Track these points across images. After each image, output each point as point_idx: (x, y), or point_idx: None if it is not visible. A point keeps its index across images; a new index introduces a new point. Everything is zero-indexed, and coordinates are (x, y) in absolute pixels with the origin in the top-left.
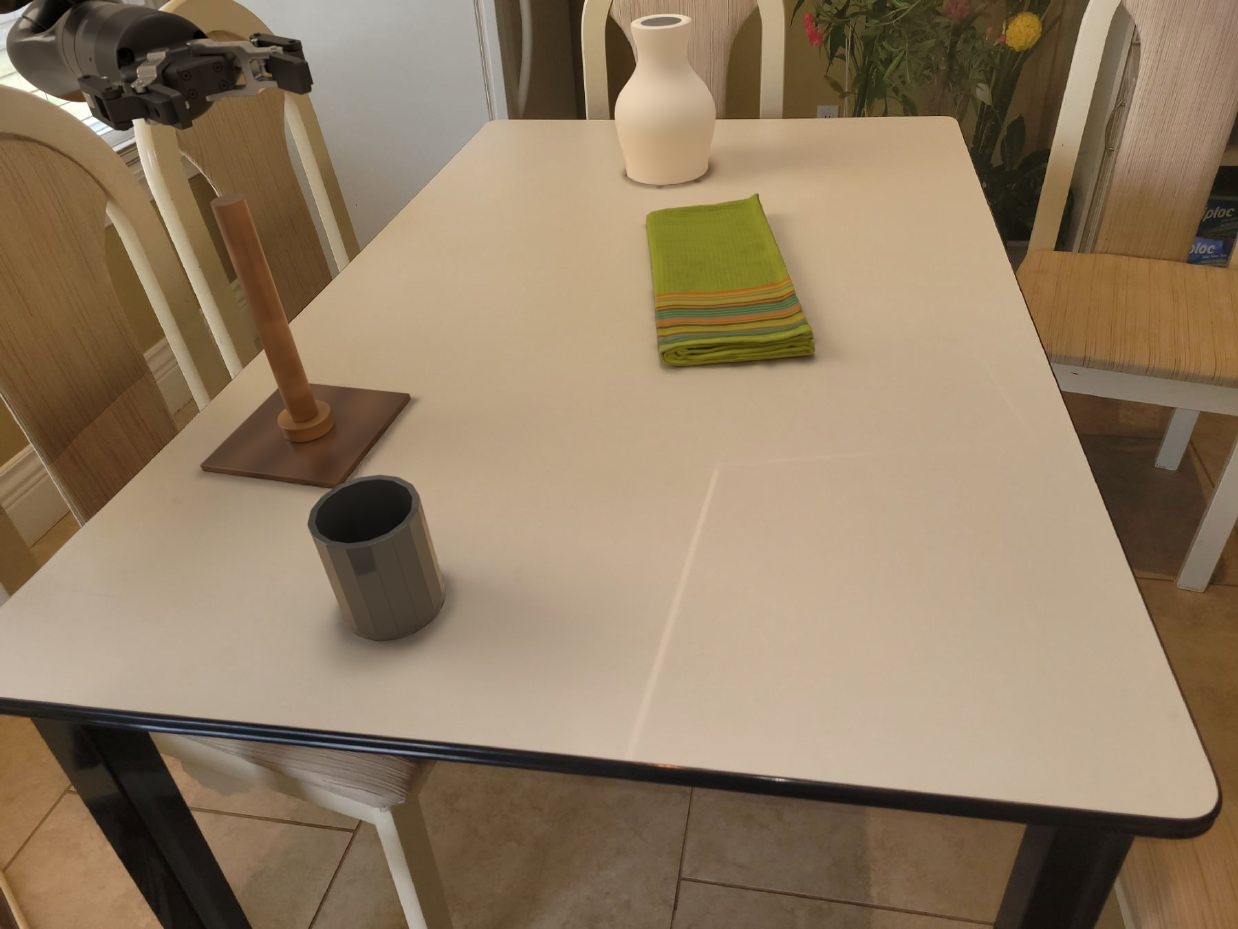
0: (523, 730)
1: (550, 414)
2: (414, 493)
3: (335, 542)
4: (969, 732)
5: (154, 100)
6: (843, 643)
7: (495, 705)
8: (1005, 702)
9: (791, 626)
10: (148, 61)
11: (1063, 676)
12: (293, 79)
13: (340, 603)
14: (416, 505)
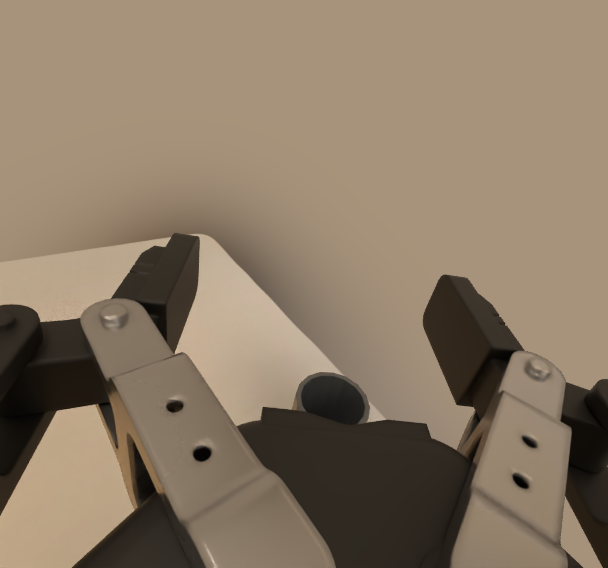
0: (316, 354)
1: (52, 525)
2: (300, 386)
3: (360, 392)
4: (215, 265)
5: (493, 312)
6: (200, 294)
7: (316, 369)
8: None
9: (202, 307)
10: (543, 486)
11: None
12: (193, 281)
13: None
14: (306, 378)
